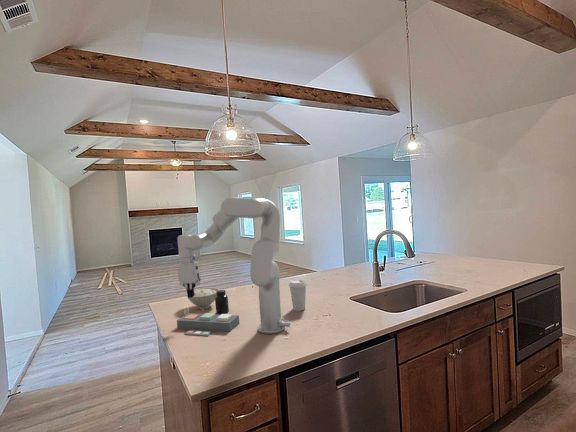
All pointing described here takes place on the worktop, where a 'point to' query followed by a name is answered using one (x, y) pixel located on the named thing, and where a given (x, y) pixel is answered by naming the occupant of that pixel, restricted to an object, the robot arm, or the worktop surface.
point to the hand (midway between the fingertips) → (190, 296)
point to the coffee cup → (298, 294)
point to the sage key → (207, 316)
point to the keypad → (208, 323)
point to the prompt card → (198, 333)
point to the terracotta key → (191, 316)
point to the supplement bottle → (221, 302)
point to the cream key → (224, 317)
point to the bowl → (204, 297)
